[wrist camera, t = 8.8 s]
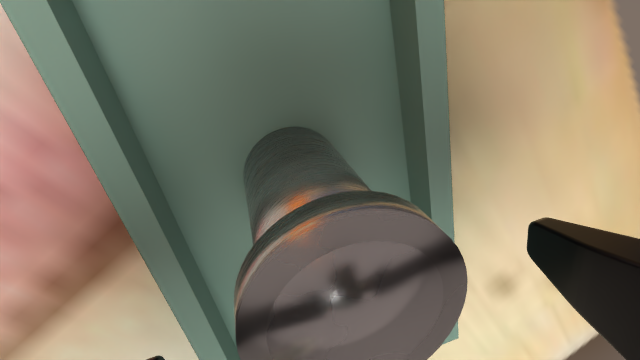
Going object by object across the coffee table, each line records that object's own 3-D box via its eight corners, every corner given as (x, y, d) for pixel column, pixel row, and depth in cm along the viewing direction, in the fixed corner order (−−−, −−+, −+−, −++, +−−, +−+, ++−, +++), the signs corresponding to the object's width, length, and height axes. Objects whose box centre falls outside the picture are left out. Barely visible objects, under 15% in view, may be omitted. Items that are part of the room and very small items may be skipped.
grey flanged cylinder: (361, 207, 16) (469, 354, 9) (250, 243, 16) (274, 431, 9) (340, 95, 14) (464, 178, 7) (208, 133, 13) (195, 267, 6)
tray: (433, 304, 21) (458, 338, 19) (234, 380, 20) (236, 426, 17) (390, -197, 11) (433, -249, 9) (-26, -129, 10) (-97, -172, 7)
